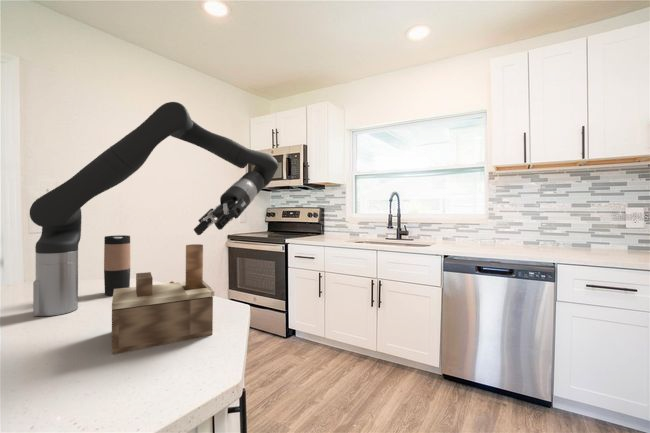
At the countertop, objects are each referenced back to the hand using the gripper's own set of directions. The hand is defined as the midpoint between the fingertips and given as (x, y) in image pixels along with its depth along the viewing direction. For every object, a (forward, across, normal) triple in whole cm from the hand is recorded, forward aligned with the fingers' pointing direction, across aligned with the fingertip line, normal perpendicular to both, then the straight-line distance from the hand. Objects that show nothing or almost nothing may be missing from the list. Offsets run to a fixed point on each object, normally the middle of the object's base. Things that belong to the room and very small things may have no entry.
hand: (206, 229), depth 80 cm
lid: (+16, -7, +6) cm, 18 cm away
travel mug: (+6, -54, +12) cm, 56 cm away
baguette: (+11, -4, +10) cm, 16 cm away
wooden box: (+21, -10, +13) cm, 27 cm away
